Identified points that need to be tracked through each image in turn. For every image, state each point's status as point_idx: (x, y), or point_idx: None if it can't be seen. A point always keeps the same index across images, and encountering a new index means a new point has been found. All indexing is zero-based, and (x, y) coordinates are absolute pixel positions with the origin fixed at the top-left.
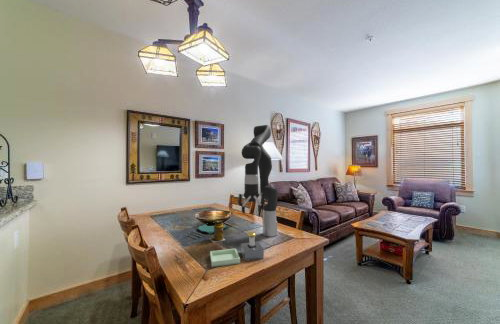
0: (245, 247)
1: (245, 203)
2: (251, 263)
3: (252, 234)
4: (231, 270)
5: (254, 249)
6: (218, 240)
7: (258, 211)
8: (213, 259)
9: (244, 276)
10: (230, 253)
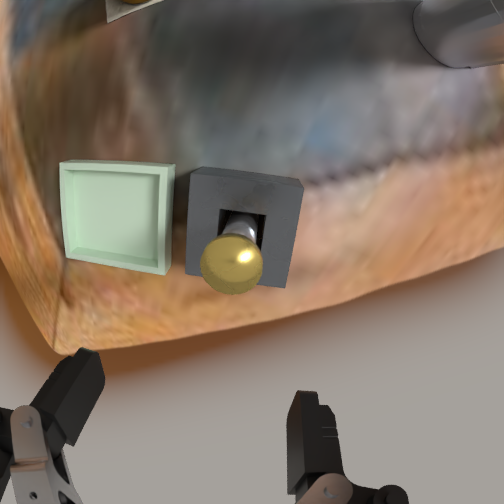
0: (199, 236)
1: (66, 484)
2: None
3: (226, 288)
4: (134, 295)
5: None
6: (135, 3)
7: (291, 413)
8: (77, 206)
9: (169, 338)
10: (146, 174)
